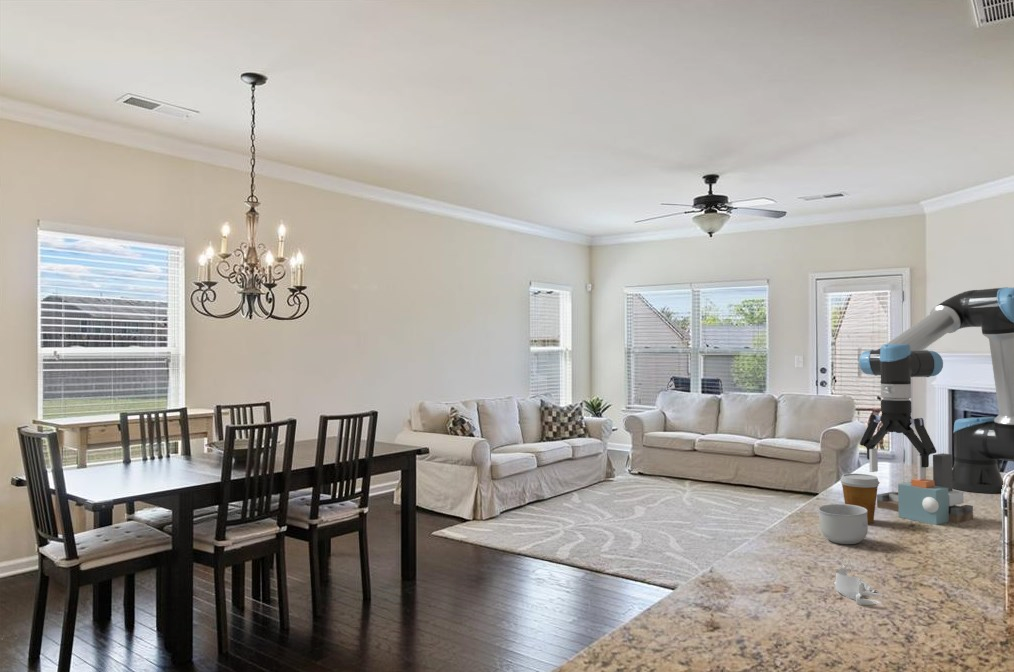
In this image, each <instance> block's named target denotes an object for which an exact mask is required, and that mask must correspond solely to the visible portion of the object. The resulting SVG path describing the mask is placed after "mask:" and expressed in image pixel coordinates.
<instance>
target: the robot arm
mask: <svg viewBox="0 0 1014 672" xmlns="http://www.w3.org/2000/svg"><path fill="white" fill-rule="evenodd" d="M974 327H976V328H981V333H982V335H983V336H984V337H985V338H987V339H988V341H989V347H990V348H989V349H990V350H989V351H990V356H991V364H992V370H993V371H992V372H993V379H994V380H993V381H994V385H995V394H996V395H995V396H996V399H997V400H996V401H997V409H998V415H997V416H996V417H995V416H989V417H988V416H985V417H967V418H965V417H964V418H958V419H956V420H954V425H953V432H952V433H953V445H954V446H953V448H954V450H953V451H954V453H953V454H954V464H953V465H952V488H953V490H954V489H955V490H957V491H962V492H971V493H972V492H973V493H983V494H985V493H986V494H987V493H989V494H995V493H1002V492H1001V489H1002V485H1003V482H1004V480H1003V477H1002V475H1001V473H1000V470H999V467H998V460H999V461H1000V460H1001V461H1007V462H1013V463H1014V287H1008V286H1007V287H1006V286H1005V287H995V288H986V289H985V288H984V289H972V290H966V291H962V292H961V293H958V294H956V295H953V296H951V297H949V298H947V299H945V300H944V301H941V302H940V303H938V305H936V306H935V307H933V308H932V309H931V310H930V312H929V315H927V316H925V317H924V318H923V319H921V320H919V321H918V322H916V323H915V324H913V326H911V327H909V328H908V329H906V330H905V331H903V332H902V333H900V334H898V336H896V337H894V338H893V339H892V340H890V341H889V342H887V343H885V344H882V345H881V346H880V347H879V348H878V349H876V350H874V349H870V350H866V351H863V352H862V353H861V354H860V356H859V358H858V365H859V368H860V370H861V372H862V373H863V374H866V375H869V376H870V375H871V376H880V397H881V398H882V399H881V400H880V411H881V415H879V414H876V413H875V414H871V415H870V416H869V417H870V419H869V423H868V425H867V427H866V429H865V432H864V433H863V436H862V438H861V440H860V441H859V445H860V446H863V447H864V448H866V458H867V460H869V472H870V473H875V472H878V471H879V467H878V466H879V465H878V463H879V461H878V459H879V457H878V456H879V455H878V448H876V446H878V444H879V443H880V441H881V440H882V439H883V438H884V437H885V436H886V435H887V434H888V433H896V434H903V436H904V437H906V438H907V439H908V440H909V442H910V444H912V446H913V447H914V448H915V450H917V452H918V453H919V454H918V455H916V457H917V458H916V459H917V460H916V461H917V463H916V465H917V478H918V480H922V479H927V468H929V465H930V460H929V459H930V458H929V457H930V455H935V454H937V449H936V447H935V444H934V443H933V441H932V439H931V437H930V435H929V433H928V431H927V429H926V427H925V422H924V418H922V417H917V418H912V411H913V409H912V401H911V400H910V399H912V378H930V377H935V376H937V375H939V374H940V373H941V372H942V371H943V368H944V360H943V358H942V356H941V355H940V354H939V353H938V352H936V351H933V350H928V349H927V348H928V347H930V346H931V345H932V344H933V343H935V342H937V341H938V340H940V339H941V338H942V337H944V336H945V335H947V334H952V333H955V332H957V331H959V330H960V329H965V328H974ZM925 349H927V350H925ZM879 423H882V425H881V427H879V429H878V431H877V432H876V430H877V428H878V426H879ZM911 425H913V427H914V428H915V431H916V433H917V434H916V433H915V431H914V430H913V428H912V427H911ZM875 432H876V433H875ZM874 434H875V435H874ZM917 435H918V436H917Z"/></svg>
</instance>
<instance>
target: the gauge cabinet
mask: <svg viewBox="0 0 1014 672" xmlns="http://www.w3.org/2000/svg"><path fill="white" fill-rule="evenodd" d="M897 492H898V502H899V511H898V518H902V519H907V520H910V521H916V522H920V523H921V522H922V523H926V524H931V525H936V526H938V525H941V524H945V523H949V503H948V488H946V487H939V486H935V487H931V488H921V487H915V486H911V481H908V482H903V483H898V485H897Z"/></svg>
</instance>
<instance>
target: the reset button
mask: <svg viewBox="0 0 1014 672" xmlns="http://www.w3.org/2000/svg"><path fill="white" fill-rule="evenodd" d="M910 482H911V486H915V487H921V488H931V487H935V484H934V480H933V479H927V478H926V479H922V480H918V477H917V478H912V479H910Z"/></svg>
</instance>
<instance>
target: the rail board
mask: <svg viewBox="0 0 1014 672" xmlns="http://www.w3.org/2000/svg"><path fill="white" fill-rule="evenodd" d="M876 508H880V509H886V510H890V511H895V512H899V502H898V491H897V492H896V491H888V492H884V493H880V494H879V493H877V496H876ZM971 519H972V520H974V506H973V505H971V504H963V505H953V506H949V522H950V523H953V522H954V524H960V523H965V522H968V521H971ZM967 520H968V521H967ZM949 522H948V523H949Z"/></svg>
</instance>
